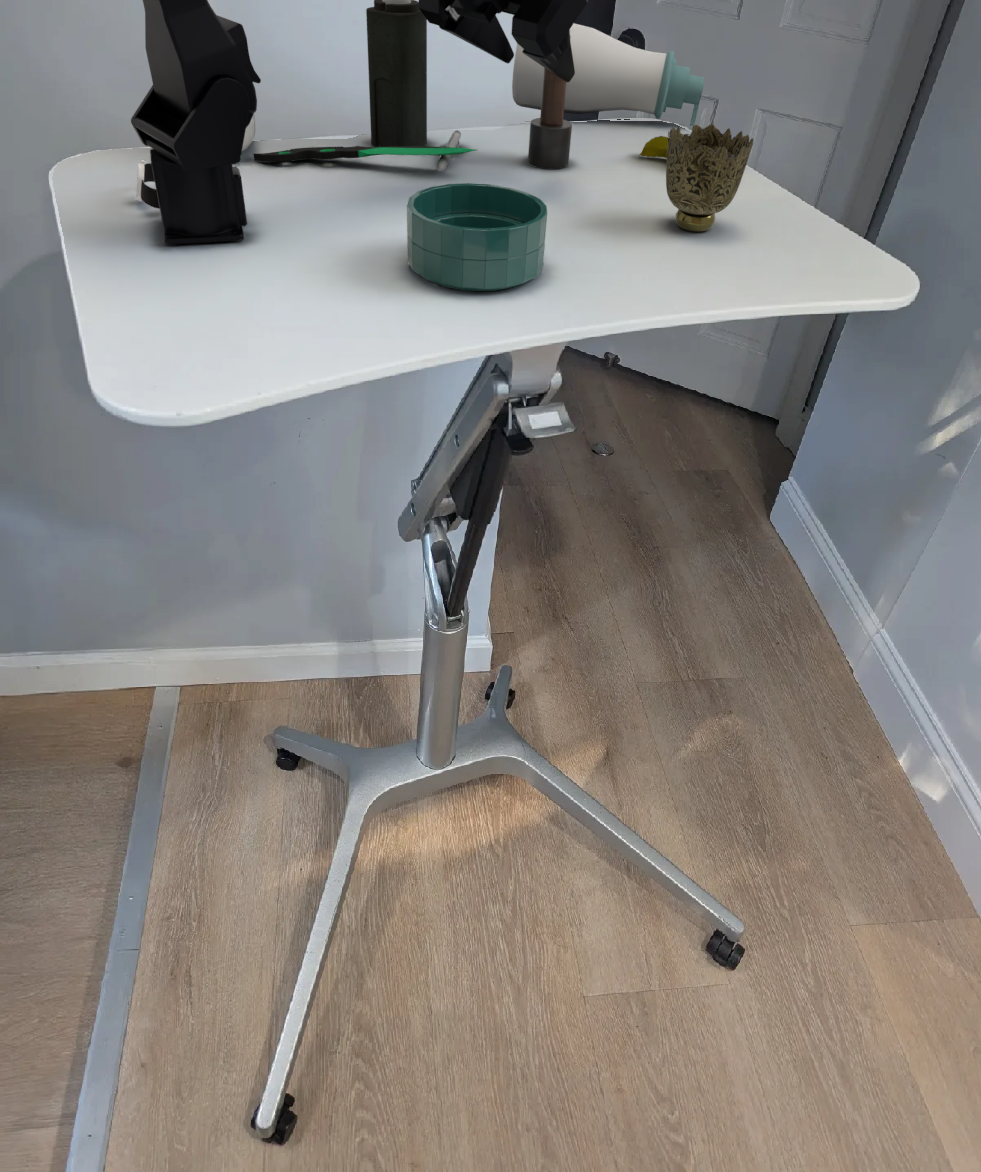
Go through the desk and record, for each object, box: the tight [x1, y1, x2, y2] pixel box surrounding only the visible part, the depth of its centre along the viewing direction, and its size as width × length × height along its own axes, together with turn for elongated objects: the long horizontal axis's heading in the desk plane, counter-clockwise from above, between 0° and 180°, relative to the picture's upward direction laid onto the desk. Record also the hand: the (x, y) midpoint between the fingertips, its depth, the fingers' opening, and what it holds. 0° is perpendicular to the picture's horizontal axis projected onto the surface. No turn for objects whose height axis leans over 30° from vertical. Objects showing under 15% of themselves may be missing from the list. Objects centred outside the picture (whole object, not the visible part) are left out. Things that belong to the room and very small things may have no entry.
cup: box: [665, 123, 755, 233], centre depth 81 cm, size 8×7×8 cm
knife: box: [252, 144, 477, 163], centre depth 92 cm, size 23×1×5 cm
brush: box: [527, 36, 573, 170], centre depth 93 cm, size 4×4×12 cm
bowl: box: [406, 182, 548, 292], centre depth 72 cm, size 11×11×5 cm
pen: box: [436, 129, 462, 172], centre depth 95 cm, size 1×14×1 cm, turn 174°
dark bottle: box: [365, 0, 428, 147], centre depth 92 cm, size 5×5×25 cm
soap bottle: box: [511, 23, 706, 128], centre depth 110 cm, size 10×10×23 cm
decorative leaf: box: [638, 135, 668, 159], centre depth 98 cm, size 10×2×3 cm, turn 40°
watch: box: [135, 159, 160, 210], centre depth 81 cm, size 8×5×4 cm, turn 16°
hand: (539, 68), depth 90 cm, fingers open, 9 cm apart
